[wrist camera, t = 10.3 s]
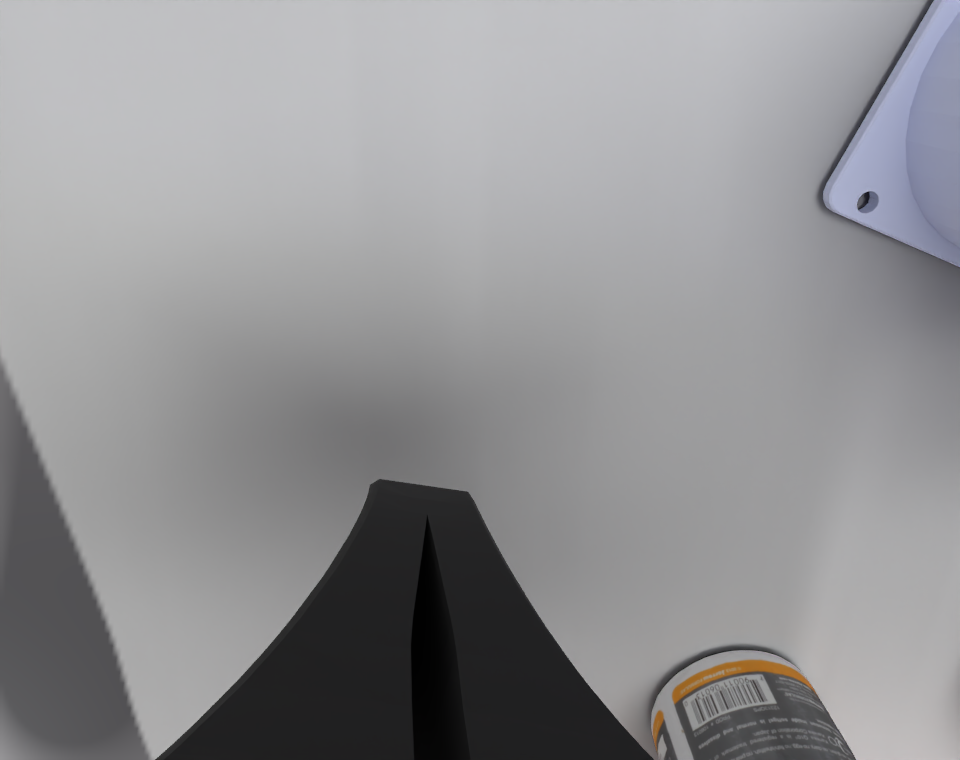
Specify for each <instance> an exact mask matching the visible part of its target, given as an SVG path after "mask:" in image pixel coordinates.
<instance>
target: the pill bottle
mask: <svg viewBox="0 0 960 760" xmlns="http://www.w3.org/2000/svg"><path fill="white" fill-rule="evenodd" d="M651 731H652V736H653V739H654V743H655V747H656V751H657V754H658V757H659V760H856V759H855V757H854V755H853V753H852V751H851V750H850V748H849V746H848V745H847V743H846V741H845V740H844V738H843V736H842V735H841V733H840V731H839V730H838V729H837V727H836V725H835V724H834V722H833V720H832V718H831V717H830V715H829V713H828V712H827V710H826V708H825V707H824V705H823V704H822V702H821V701H820V699H819V697H818V695H817V694H816V692H815V690H814V689H813V687H812V686H811V684H810V683H809V681H808V680H807V678H806V677H805V676H804V674H803V673H802V672H801V671H800V670H799V669H798V668H797V667H796V666H795V665H793V664H792V663H790V662H788V661H786V660H785V659H783V658H781V657H779V656H777V655H773V654H770V653H767V652H761V651H752V650H738V651H728V652H723V653H719V654H715V655H712V656H709V657H705V658H703V659H701V660H699V661H697V662H695V663H693V664H691V665H689V666H688V667H686V668H685V669H683V670H682V671H680V672H678V673H677V674H676V675H675V676H674V677H673V678H672V679H671V680H670V681H669V682H668V683H667V684H666V685H665V686H664V688H663V689H662V690H661V692H660V693H659V695H658V696H657V699H656V701H655V705H654V707H653V710H652V715H651Z"/></svg>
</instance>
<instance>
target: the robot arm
mask: <svg viewBox="0 0 960 760" xmlns="http://www.w3.org/2000/svg"><path fill="white" fill-rule="evenodd" d="M868 191H869V194H870V199H869V202H868V203H867V204H866V206H865V207H864V208H861V209H859V210H858V209H857V202H858V199H859V197H860V196H861V195H862V194H863V193H866V192H868ZM823 201H824V203H825V205H826V207H827V208H828V209H830V210H831V211H833V212H835V213H837V214H839V215H842V216H844V217H846V218H848V219H851V220H853V221H855V222H858V223H860V224H862V225H864V226H867V227H869V228H871V229H874V230H876V231H878V232H880V233H883V234H885V235H887V236H890V237H892V238H894V239H896V240H899V241H901V242H903V243H906V244H908V245H910V246H912V247H915V248H917V249H919V250H922V251H924V252H926V253H928V254H931V255H933V256H935V257H937V258H940V259H942V260H944V261H947V262H949V263H951V264H953V265H956V266H958V267H960V0H934V1H933V3H932V4H931V6H930V8H929V10H928V11H927V13H926V15H925V16H924V18H923V20H922V21H921V23H920V25H919V27H918V28H917V30H916V32H915V33H914V35H913V37H912V39H911V40H910V42H909V44H908V45H907V47H906V49H905V51H904V52H903V54H902V56H901V57H900V59H899V61H898V62H897V64H896V66H895V68H894V69H893V71H892V73H891V74H890V76H889V78H888V80H887V81H886V83H885V85H884V86H883V88H882V90H881V91H880V93H879V95H878V97H877V98H876V100H875V102H874V103H873V105H872V107H871V109H870V110H869V112H868V114H867V115H866V117H865V119H864V121H863V122H862V124H861V126H860V127H859V129H858V131H857V132H856V134H855V136H854V138H853V139H852V141H851V143H850V144H849V146H848V148H847V150H846V151H845V153H844V155H843V156H842V158H841V160H840V161H839V163H838V165H837V167H836V168H835V170H834V172H833V173H832V175H831V177H830V179H829V180H828V182H827V184H826V186H825V189H824V191H823ZM155 760H654V759H653V758H652V757H651V756H650V755H649V754H648V753H647V752H646V751H645V750H644V749H643V748H642V747H641V746H640V745H639V744H638V742H637V741H636V740H635V739H634V738H633V737H632V736H631V735H630V734H629V732H628V731H627V730H626V729H625V728H624V727H623V726H622V725H621V724H620V722H619V721H618V720H617V719H616V718H615V717H614V715H613V714H612V713H611V712H610V711H609V709H608V708H607V707H606V706H605V705H604V703H603V702H602V701H601V700H600V699H599V697H598V696H597V695H596V694H595V693H594V691H593V690H592V689H591V688H590V687H589V685H588V684H587V683H586V682H585V680H584V679H583V678H582V676H581V675H580V674H579V672H578V671H577V670H576V668H575V667H574V666H573V664H572V663H571V662H570V660H569V659H568V658H567V656H566V655H565V653H564V652H563V651H562V649H561V648H560V646H559V645H558V643H557V642H556V641H555V639H554V638H553V636H552V635H551V633H550V632H549V631H548V629H547V628H546V626H545V625H544V623H543V622H542V620H541V619H540V617H539V615H538V614H537V612H536V611H535V609H534V608H533V606H532V605H531V603H530V601H529V600H528V598H527V596H526V595H525V593H524V592H523V590H522V588H521V587H520V585H519V583H518V582H517V580H516V578H515V577H514V575H513V574H512V572H511V570H510V568H509V567H508V565H507V563H506V561H505V560H504V558H503V556H502V554H501V552H500V551H499V549H498V547H497V545H496V543H495V541H494V540H493V538H492V536H491V534H490V532H489V530H488V528H487V526H486V524H485V522H484V520H483V518H482V516H481V514H480V512H479V510H478V508H477V506H476V504H475V502H474V500H473V499H472V497H471V496H470V494H469V493H468V492H465V491H458V490H451V489H444V488H437V487H430V486H423V485H416V484H410V483H403V482H396V481H389V480H382V479H379V480H378V481H376V482H374V483H373V484H371V485H370V488H369V493H368V496H367V499H366V502H365V504H364V507H363V509H362V511H361V514H360V516H359V518H358V520H357V522H356V523H355V525H354V527H353V529H352V531H351V533H350V535H349V536H348V538H347V540H346V541H345V543H344V544H343V546H342V548H341V549H340V551H339V552H338V554H337V556H336V557H335V559H334V560H333V562H332V564H331V565H330V567H329V568H328V570H327V571H326V573H325V574H324V576H323V577H322V579H321V580H320V581H319V583H318V584H317V585H316V587H315V588H314V589H313V591H312V592H311V593H310V595H309V596H308V597H307V599H306V600H305V601H304V603H303V604H302V605H301V607H300V608H299V609H298V611H297V612H296V613H295V615H294V616H293V618H292V619H291V620H290V621H289V623H288V624H287V625H286V626H285V627H284V629H283V630H282V631H281V632H280V633H279V635H278V636H277V637H276V638H275V640H274V641H273V642H272V643H271V644H270V645H269V646H268V648H267V649H266V650H265V651H264V652H263V653H262V654H261V656H260V657H259V658H258V659H257V660H256V661H255V662H254V663H253V664H252V666H251V667H250V668H249V669H248V670H247V671H246V672H245V673H244V674H243V675H242V676H241V678H240V679H239V680H238V681H237V682H236V683H235V684H234V685H233V686H232V687H231V688H230V689H229V690H228V691H227V692H226V693H225V694H224V695H223V696H222V697H221V698H220V699H219V700H218V701H217V702H216V703H215V704H214V705H213V706H212V707H211V708H210V709H209V710H208V711H207V712H206V713H205V714H204V715H203V716H202V717H201V718H200V719H199V720H198V721H197V722H196V723H195V724H194V725H193V726H192V727H191V728H190V729H189V730H187V731H186V732H185V733H184V734H183V735H182V736H181V737H180V738H179V739H178V740H177V741H176V742H175V743H174V744H172V745H171V746H170V747H169V748H168V749H167V750H166V751H165V752H164V753H162V754H161V755H160V756H159V757H158V758H157V759H155Z"/></svg>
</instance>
